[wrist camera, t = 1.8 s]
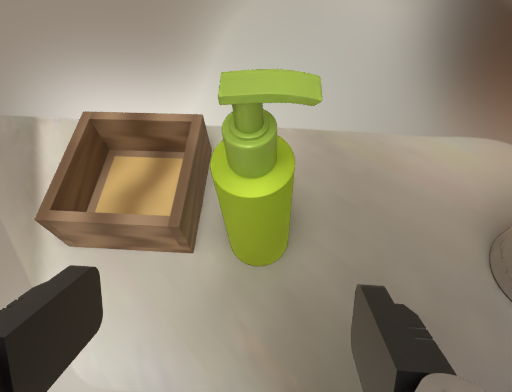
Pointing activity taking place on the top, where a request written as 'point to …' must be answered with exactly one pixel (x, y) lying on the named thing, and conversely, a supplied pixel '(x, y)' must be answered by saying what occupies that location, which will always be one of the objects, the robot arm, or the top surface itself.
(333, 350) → the top surface
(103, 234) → the walnut box
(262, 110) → the soap dispenser
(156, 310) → the top surface
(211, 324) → the top surface
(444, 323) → the top surface
